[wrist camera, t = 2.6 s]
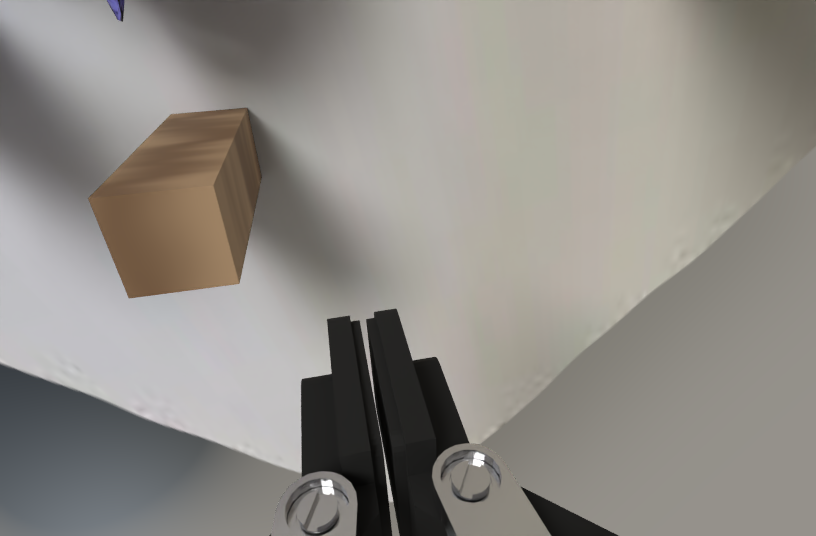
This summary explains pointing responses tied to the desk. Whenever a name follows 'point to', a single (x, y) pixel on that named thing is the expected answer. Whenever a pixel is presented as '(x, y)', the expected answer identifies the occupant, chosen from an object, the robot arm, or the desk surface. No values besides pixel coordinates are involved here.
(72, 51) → the desk surface
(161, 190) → the walnut block
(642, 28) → the desk surface
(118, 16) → the decorative ornament
